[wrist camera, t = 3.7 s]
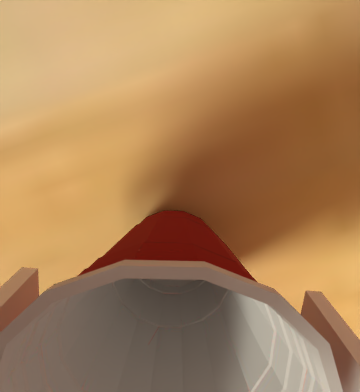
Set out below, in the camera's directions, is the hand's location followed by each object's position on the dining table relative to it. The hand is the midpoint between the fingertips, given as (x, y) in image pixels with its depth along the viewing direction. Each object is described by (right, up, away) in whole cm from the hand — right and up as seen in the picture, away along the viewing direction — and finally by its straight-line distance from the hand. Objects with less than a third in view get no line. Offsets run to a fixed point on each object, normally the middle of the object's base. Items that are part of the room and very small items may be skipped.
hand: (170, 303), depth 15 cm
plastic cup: (0, +1, +6) cm, 6 cm away
